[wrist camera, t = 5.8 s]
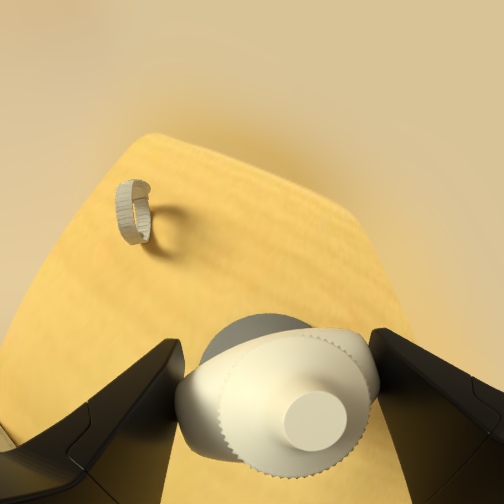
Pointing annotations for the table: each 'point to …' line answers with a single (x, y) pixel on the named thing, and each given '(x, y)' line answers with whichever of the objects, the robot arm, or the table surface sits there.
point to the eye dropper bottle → (281, 401)
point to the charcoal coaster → (250, 332)
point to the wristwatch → (125, 211)
